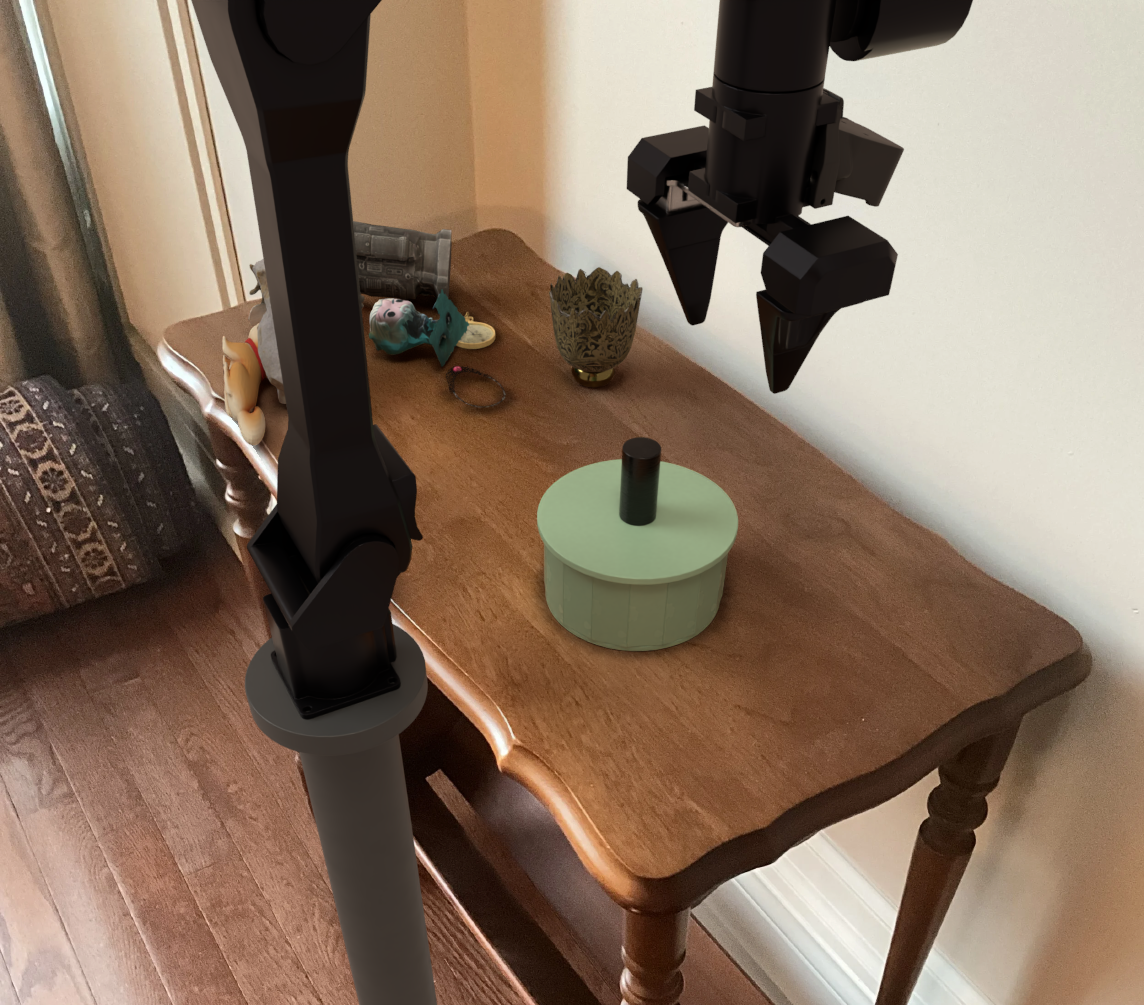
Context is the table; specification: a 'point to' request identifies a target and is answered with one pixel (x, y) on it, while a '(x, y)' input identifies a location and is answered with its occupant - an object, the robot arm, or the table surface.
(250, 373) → the toy
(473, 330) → the pocket watch
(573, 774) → the table surface
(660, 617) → the pot
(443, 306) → the figurine
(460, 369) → the necklace
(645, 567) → the lid
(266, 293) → the stone
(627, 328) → the cup
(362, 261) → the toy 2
